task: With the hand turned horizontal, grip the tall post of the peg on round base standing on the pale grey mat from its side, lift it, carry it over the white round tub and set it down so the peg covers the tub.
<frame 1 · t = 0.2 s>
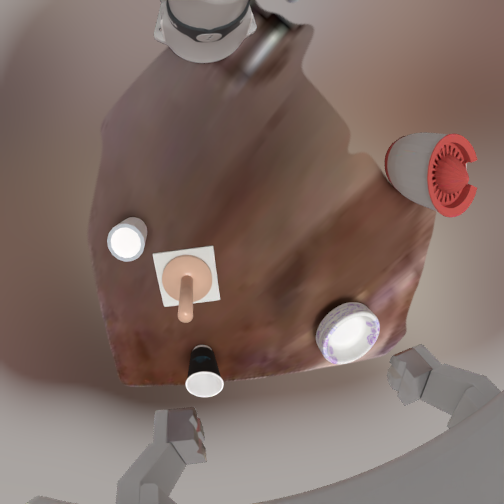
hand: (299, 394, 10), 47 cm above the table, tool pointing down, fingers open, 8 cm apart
white round tub: (133, 230, 54), on the table
peg on round base: (187, 278, 59), resting on mat
citrus juicer: (405, 163, 58), on the table
paper bowls: (339, 321, 70), on the table
dixie cup: (202, 352, 67), on the table
mat: (187, 277, 59), on the table
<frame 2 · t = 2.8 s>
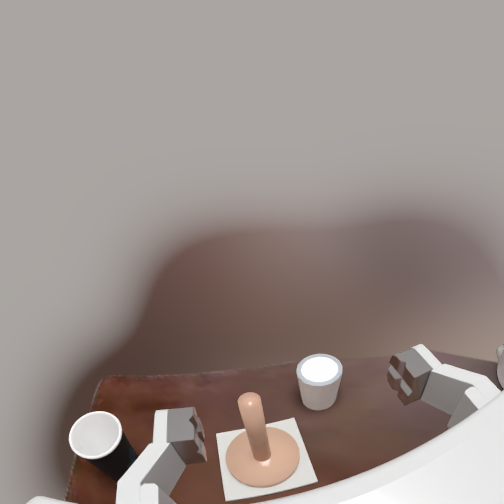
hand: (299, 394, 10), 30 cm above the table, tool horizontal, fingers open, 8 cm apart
white round tub: (318, 398, 43), on the table
peg on round base: (263, 458, 33), resting on mat
dixie cup: (130, 472, 31), on the table
mat: (263, 459, 34), on the table
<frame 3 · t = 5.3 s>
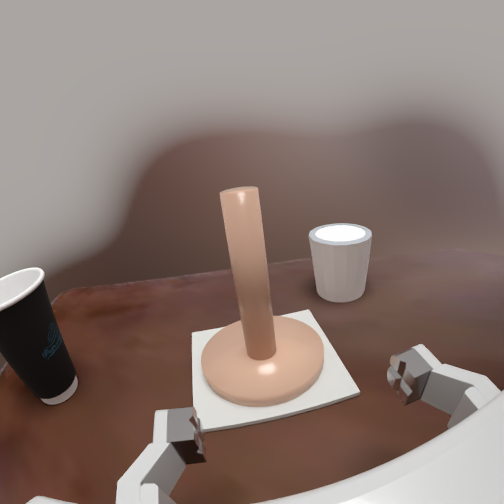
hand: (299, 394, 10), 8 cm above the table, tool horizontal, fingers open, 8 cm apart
white round tub: (340, 290, 33), on the table
peg on round base: (263, 361, 24), resting on mat
dixie cup: (59, 388, 22), on the table
mat: (263, 364, 24), on the table
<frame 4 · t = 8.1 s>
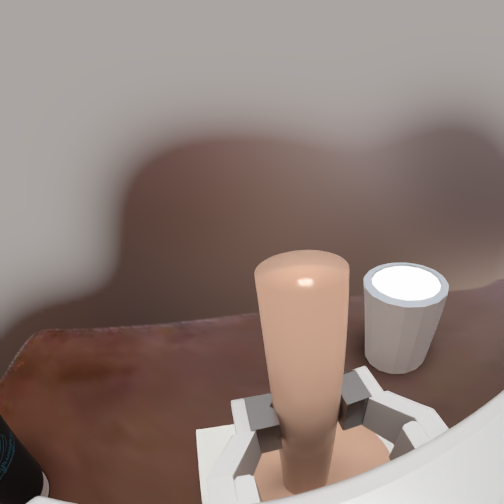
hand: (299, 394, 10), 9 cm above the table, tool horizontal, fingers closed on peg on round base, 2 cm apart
white round tub: (395, 353, 22), on the table
peg on round base: (305, 485, 13), resting on mat, touching gripper
dixie cup: (28, 489, 11), on the table
mat: (305, 487, 13), on the table
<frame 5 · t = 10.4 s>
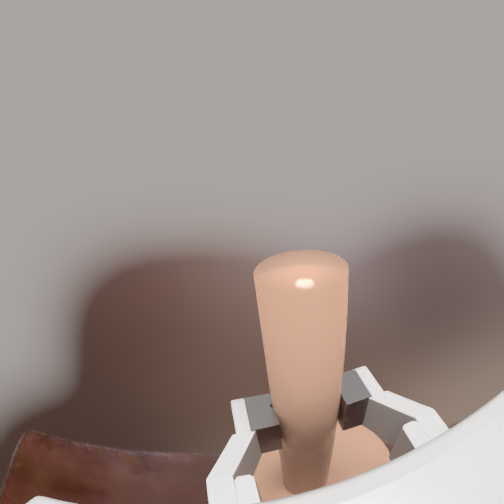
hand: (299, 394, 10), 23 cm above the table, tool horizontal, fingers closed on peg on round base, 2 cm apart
peg on round base: (305, 485, 13), point 15 cm above the table, touching gripper
when the fingers open (16 cm above the table, at t = 12.8 s): peg on round base stays where it is, resting on white round tub.
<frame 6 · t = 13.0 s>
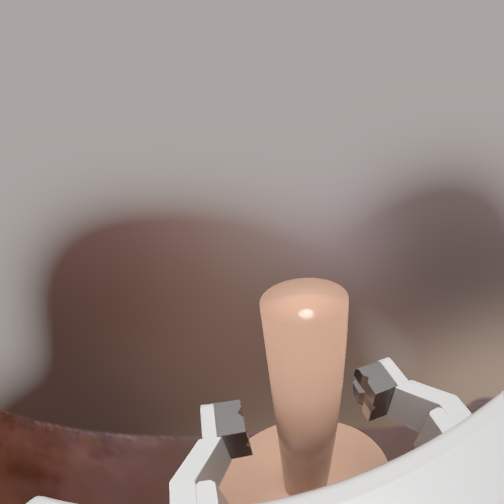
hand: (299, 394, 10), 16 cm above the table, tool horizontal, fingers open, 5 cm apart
peg on round base: (305, 489, 13), point 7 cm above the table, touching white round tub
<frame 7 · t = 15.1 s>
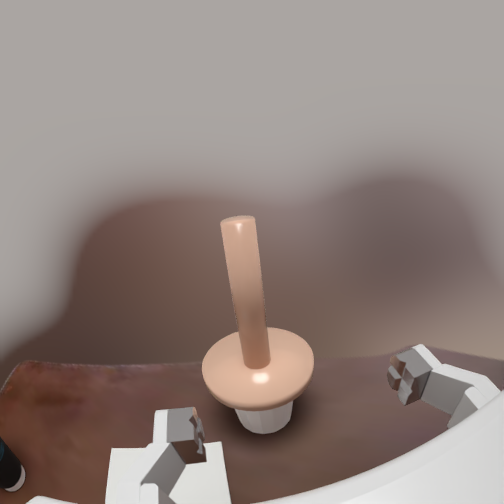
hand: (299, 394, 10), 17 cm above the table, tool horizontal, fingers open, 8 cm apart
white round tub: (265, 414, 28), on the table, touching peg on round base
peg on round base: (258, 369, 26), point 7 cm above the table, touching white round tub
dixie cup: (12, 476, 16), on the table
mat: (165, 497, 19), on the table
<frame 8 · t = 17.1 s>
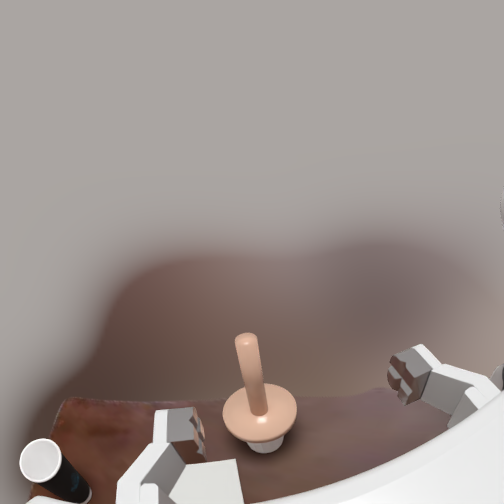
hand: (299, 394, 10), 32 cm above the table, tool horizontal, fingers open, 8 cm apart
white round tub: (265, 439, 39), on the table, touching peg on round base
peg on round base: (260, 414, 36), point 7 cm above the table, touching white round tub
dixie cup: (80, 493, 27), on the table
mat: (199, 497, 30), on the table
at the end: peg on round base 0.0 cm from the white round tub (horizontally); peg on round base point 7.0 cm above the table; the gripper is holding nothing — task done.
